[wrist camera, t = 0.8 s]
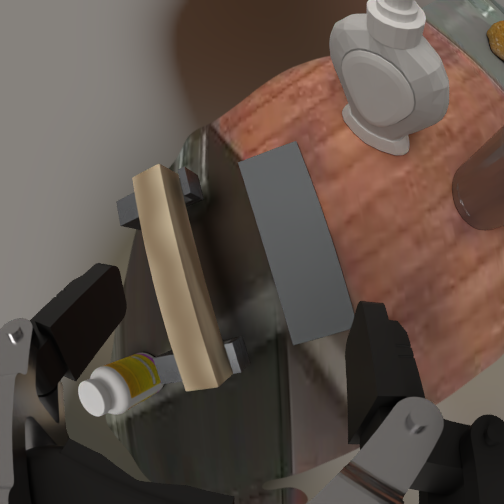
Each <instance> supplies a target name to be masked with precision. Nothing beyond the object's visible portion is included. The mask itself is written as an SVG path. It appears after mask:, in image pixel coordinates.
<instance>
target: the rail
mask: <svg viewBox="0 0 504 504" xmlns="http://www.w3.org/2000/svg"><path fill="white" fill-rule="evenodd" d="M132 180H133V185H134V192H135V197H136V203H137V209H138V214H139V219H140V224H141V229H142V234H143V239H144V244H145V248H146V253H147V257H148V262H149V266H150V270H151V274H152V278H153V282H154V286H155V290H156V294H157V298H158V302H159V305H160V309H161V313H162V316H163V320H164V323H165V327H166V330H167V334H168V337H169V340H170V344H171V347H172V350H173V353H174V357H175V360H176V363H177V366H178V369H179V372H180V375H181V378H182V381H183V384H184V387H185V390H186V391H193V390H201V389H208V388H215V387H219V386H220V385H221V384H222V383H223V382H224V381H225V380H227V379H228V378H229V377H230V376H231V375H232V374H233V372H232V369H231V366H230V363H229V360H228V357H227V353H226V350H225V347H224V344H223V341H222V337H221V334H220V331H219V327H218V324H217V321H216V317H215V314H214V310H213V307H212V303H211V300H210V296H209V293H208V289H207V286H206V282H205V279H204V275H203V271H202V268H201V264H200V260H199V256H198V253H197V249H196V245H195V241H194V237H193V233H192V229H191V225H190V221H189V217H188V213H187V209H186V205H185V201H184V197H183V193H182V188H181V184H180V180H179V175H178V174H177V173H175V172H173V171H171V170H170V169H168V168H166V167H164V166H162V165H161V164H157V165H155V166H153V167H152V168H150V169H148V170H146V171H144V172H142V173H140V174H138V175H136V176H135V177H133V178H132Z"/></svg>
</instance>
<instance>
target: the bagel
mask: <svg viewBox="0 0 504 504" xmlns="http://www.w3.org/2000/svg"><path fill="white" fill-rule="evenodd" d="M487 36H488V38H489V44H490V48H491V50H492V52H493V53H494V54H495V55H497V56H498V57H499V58H501V59H502V60H503V61H504V21H499V22H497V23H494V24H493V25H492V26H491V28H490V29H489V30H488V31H487Z"/></svg>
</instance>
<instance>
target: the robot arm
mask: <svg viewBox="0 0 504 504" xmlns="http://www.w3.org/2000/svg"><path fill="white" fill-rule="evenodd" d="M452 192H453V198H454V202H455V205H456V207H457V210H458V212H459V213H460V215H461V216H462V218H463V219H464V220H465V221H466V222H467V223H468V224H470V225H471V226H473V227H475V228H477V229H480V230H490V229H494V228H497V227H501V226H504V126H503V127H502V128H501V129H500V130H499V131H498V132H497V133H496V134H495V135H494V136H493V137H492V138H490V139H489V140H488V141H487V142H486V143H485V144H484V145H483V146H482V147H481V148H480V149H479V150H478V151H477V152H476V153H475V154H474V155H472V156H471V157H470V158H469V159H468V160H467V161H466V162H465V163H464V164H463V165H462V166H461V167H460V168H459V169H458V170H457V172H456V174H455V176H454V179H453V185H452ZM125 313H126V299H125V294H124V290H123V285H122V281H121V275H120V271H119V269H118V267H116V266H112V265H107V264H101V263H97V264H95V265H94V266H93V267H92V268H91V269H89V270H88V271H87V272H86V273H85V274H84V275H83V276H80V277H78V278H77V279H75V280H73V281H72V282H70V283H69V284H68V285H67V286H66V287H65V288H64V290H63V291H61V292H59V293H58V294H57V296H56V297H54V298H53V299H52V300H51V301H50V302H49V303H48V304H47V305H46V306H45V307H43V308H42V309H41V310H40V311H39V312H38V313H37V314H36V315H35V316H34V317H33V318H32V319H31V320H30V321H29V320H27V319H23V318H19V319H14V320H12V321H9V322H8V323H6V324H5V325H4V326H3V327H2V328H1V329H0V504H234V496H229V495H224V494H219V493H215V492H210V491H206V490H202V489H198V488H194V487H191V486H187V485H172V484H161V483H152V482H144V481H139V480H136V479H134V478H133V477H131V476H130V475H128V474H127V473H126V472H124V471H123V470H122V469H120V468H119V467H117V466H116V465H115V464H113V463H112V462H111V461H110V460H108V459H107V458H106V457H104V456H103V455H102V454H100V453H98V452H95V451H93V450H91V449H89V448H87V447H85V446H83V445H81V444H79V443H77V442H75V441H73V440H71V439H70V438H69V436H68V434H67V430H66V422H65V411H64V397H63V385H62V383H61V381H60V380H61V378H62V377H63V376H65V377H67V378H69V379H72V380H74V381H77V379H78V378H79V377H80V375H81V374H82V372H83V371H84V370H85V368H86V367H87V366H88V364H89V363H90V362H91V360H92V359H93V358H94V356H95V355H96V353H97V352H98V351H99V349H100V348H101V347H102V346H103V344H104V343H105V342H106V340H107V339H108V337H109V336H110V335H111V334H112V332H113V331H114V330H115V329H116V327H117V326H118V325H119V323H120V322H121V321H122V319H123V318H124V316H125ZM410 346H411V344H410V341H409V338H408V335H407V332H406V331H405V330H404V328H403V327H402V326H401V325H400V324H399V322H398V321H393V320H389V319H388V315H387V312H386V308H385V305H384V304H383V303H376V302H366V301H360V302H359V304H358V306H357V309H356V313H355V316H354V320H353V323H352V326H351V329H350V333H349V336H348V339H347V344H346V351H345V360H346V377H347V400H348V444H360V451H359V452H358V453H357V455H356V456H355V457H354V458H353V459H352V460H351V462H349V464H348V465H346V466H345V467H344V468H343V469H342V470H341V471H340V472H339V473H338V474H337V475H336V476H335V477H334V478H333V479H332V480H331V481H330V482H329V484H327V485H326V486H325V487H324V488H323V489H322V490H321V491H320V492H319V493H318V494H317V495H316V496H315V497H314V498H313V499H312V500H311V501H310V502H308V503H307V504H404V501H403V497H404V495H405V494H406V492H407V490H408V489H414V490H419V504H504V422H503V420H501V419H500V418H498V417H497V416H494V415H483V416H481V417H479V418H478V419H477V420H476V421H475V422H474V423H473V424H472V425H471V426H470V425H465V424H460V423H456V422H452V421H448V420H445V419H443V416H442V414H441V412H440V410H439V409H438V408H437V406H436V405H434V404H433V403H432V402H430V401H429V400H427V399H425V396H424V392H423V388H422V384H421V380H420V376H419V372H418V369H417V365H416V362H415V358H413V356H414V355H413V351H412V348H410Z"/></svg>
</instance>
